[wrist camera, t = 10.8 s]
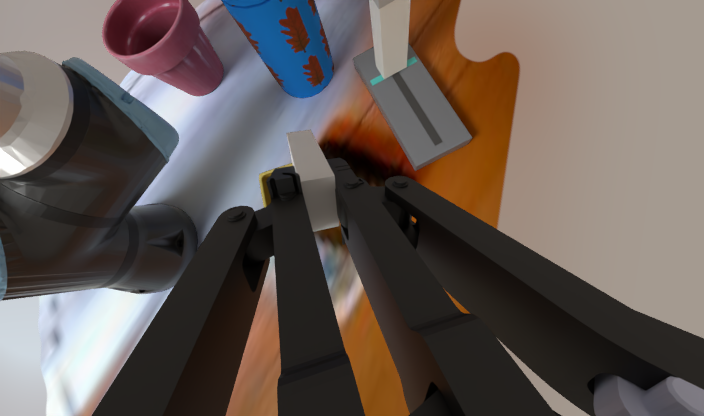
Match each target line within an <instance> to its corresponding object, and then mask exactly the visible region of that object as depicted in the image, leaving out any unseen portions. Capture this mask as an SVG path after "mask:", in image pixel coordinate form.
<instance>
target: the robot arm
mask: <svg viewBox="0 0 704 416" xmlns="http://www.w3.org/2000/svg"><path fill="white" fill-rule="evenodd" d="M287 138H288V144H289V149H290V154H291V159H292V164H293V166H288V167H282V168H276V169H274V171H273V172H272V173H271V176H270V177H269V178H267V181H266V183H267V187H268V190H269V194H270V198H271V203H270V204H269V205H268V206H266V207H265V208H263V209H260V210H258V211H255V212H254V210H253V209H252V208H251V207H248V206H238V207H233V208H230V209H228V210H226V211H225V212H223V213H222V214H221V215H220V216H219V217H218V219H217V220H216V222H215V223H214V225H213V227H212V228H211V230H210V231H209V233H208V234H207V236H206V237H205V239H204V241H203V242H202V244H201V245H200V247H199V248H198V250H197V234H196V230H195V227H194V224H193V222H192V220H191V219H190V217H189V216H188V215H187V214H186V213H185V212H184V211H182V210H181V209H179V208H176V207H173V206H168V205H163V204H148V205H142V206H134V205H135V204H136V202H137V201H138V200H139V198H140V197H141V196H142V195H143V193H144V192H145V191H146V189H147V188H148V187H149V185H150V184H151V183H152V182H153V180H154V179H155V178H156V176H157V175H158V174H159V172H160V171H161V170H162V168H163V167H164V166H165V165H166V164H167V163H168V162H169V157H170V156H171V154H172V153H173V151H174V149H175V148H176V146H177V145H178V142H179V135H178V133H177V131H176V130H175V128H174V127H172V126H171V125H170V124H169V123H168V122H166V121H165V120H164V119H163V118H161V117H160V116H159V115H158V114H156V113H155V112H154V111H152V110H151V109H150V108H148V107H147V106H146V105H144V104H143V103H142V102H140V101H139V100H137V99H136V98H135V97H133V96H131V95H130V94H129V93H128V92H126V91H125V90H124V89H122V88H121V87H120V86H119V85H117V84H116V83H114V82H113V81H112V80H110V79H109V78H108V77H106V76H105V75H104V74H102V73H101V72H99V71H98V70H96V69H95V68H94V67H92V66H91V65H89V64H87V63H86V62H85V61H83V60H81V59H79V58H76V57H73V58H70V59H69V60H66V61H63V62H62V66H61V65H60V64H58V63H56V62H54V61H52V60H51V59H49V58H47V57H45V56H42V55H40V54H37V53H34V52H27V51H16V52H7V53H0V301H1V300H8V299H16V298H25V297H33V296H41V295H49V294H57V293H65V292H73V291H80V290H88V289H96V288H109V289H115V290H120V291H125V292H131V293H136V294H149V293H156V292H161V291H165V290H167V289H170V288H171V287H173V286H174V288H173V289H172V291H171V292H170V294H169V295H168V297H167V299H166V300H165V302H164V303H163V305H162V306H161V308H160V310H159V311H158V313H157V314H156V316H155V317H154V319H153V320H152V322H151V324H150V325H149V327H148V328H147V330H146V331H145V333H144V335H143V336H142V338H141V339H140V341H139V342H138V344H137V346H136V347H135V349H134V350H133V352H132V353H131V355H130V356H129V358H128V360H127V361H126V363H125V364H124V366H123V367H122V369H121V371H120V372H119V374H118V375H117V377H116V378H115V380H114V382H113V383H112V385H111V386H110V388H109V389H108V391H107V392H106V394H105V396H104V397H103V399H102V400H101V402H100V403H99V405H98V407H97V408H96V410H95V411H94V413H93V414H92V416H225V415H226V412H227V408H228V405H229V401H230V398H231V395H232V391H233V388H234V384H235V381H236V377H237V374H238V370H239V367H240V363H241V360H242V356H243V353H244V350H245V346H246V343H247V339H248V336H249V332H250V329H251V325H252V322H253V318H254V315H255V311H256V308H257V305H258V301H259V298H260V294H261V291H262V287H263V284H264V280H265V277H266V273H267V270H268V267H269V263H270V257H272V256H274V257H275V273H276V289H277V306H278V322H279V338H280V354H281V375H280V377H279V379H278V386H277V396H278V416H365V414H364V410H363V406H362V403H361V399H360V395H359V392H358V388H357V385H356V381H355V377H354V374H353V370H352V367H351V363H350V360H349V357H348V355H347V354H346V351H345V348H344V345H343V341H342V337H341V334H340V330H339V326H338V323H337V319H336V315H335V311H334V308H333V304H332V300H331V296H330V293H329V289H328V285H327V282H326V278H325V274H324V270H323V267H322V263H321V259H320V255H319V252H318V248H317V244H316V241H315V237H314V233H313V232H314V231H319V230H323V229H328V228H333V227H337V226H339V220H340V223H341V230H342V242H343V244H345V242H346V244H347V247H348V249H349V252H350V254H351V257H352V259H353V262H354V264H355V267H356V269H357V272H358V274H359V277H360V279H361V282H362V284H363V286H364V289H365V291H366V294H367V296H368V299H369V301H370V304H371V306H372V309H373V311H374V314H375V316H376V319H377V321H378V324H379V326H380V329H381V331H382V334H383V336H384V338H385V341H386V343H387V346H388V348H389V351H390V353H391V356H392V358H393V361H394V363H395V366H396V368H397V371H398V373H399V376H400V379H401V382H402V386H403V392H404V396H405V400H406V404H407V407H408V409H409V412H410V415H409V416H561V415H560V414H558V413H556V412H555V411H553V410H552V409H551V408H550V406H549V405H548V404H547V402H546V401H545V400H544V399H543V397H542V396H541V395H540V393H539V392H538V391H537V390H536V388H535V387H534V386H533V384H532V383H531V382H530V381H529V379H528V378H527V377H526V375H525V374H524V373H523V372H522V370H521V369H520V368H519V366H518V365H517V364H516V363H515V361H514V360H513V359H512V357H511V356H510V355H509V354H508V352H507V351H506V350H505V348H504V347H503V346H502V345H501V343H500V342H499V341H498V339H499V340H500V341H501V342H502V343H503V344H504V345H505V346H506V347H507V348H508V349H509V350H510V351H512V352H513V353H514V354H515V355H516V356H517V357H518V358H519V359H520V360H521V361H522V362H523V363H525V364H526V365H527V366H528V367H529V368H530V369H531V370H532V371H533V372H534V373H536V374H537V375H538V376H539V377H540V378H541V379H542V380H544V381H545V382H546V383H547V384H548V385H549V386H550V387H552V388H553V389H554V390H556V391H557V392H558V393H559V394H561V395H562V396H563V397H565V398H566V399H567V400H569V401H570V402H571V403H573V404H574V405H575V406H577V407H578V408H580V409H581V410H583V411H584V412H586V413H587V414H589V415H590V416H704V339H703V338H701V337H699V336H696V335H693V334H691V333H689V332H686V331H683V330H682V329H679V328H677V327H674V326H672V325H669V324H667V323H664V322H662V321H660V320H657V319H655V318H652V317H650V316H647V315H645V314H642V313H640V312H637V311H635V310H633V309H631V308H629V307H627V306H626V305H624V304H623V303H621V302H619V301H617V300H616V299H614V298H612V297H610V296H609V295H607V294H606V293H604V292H602V291H600V290H599V289H597V288H595V287H593V286H592V285H590V284H589V283H587V282H585V281H583V280H582V279H580V278H578V277H577V276H575V275H573V274H572V273H570V272H568V271H566V270H565V269H563V268H561V267H560V266H558V265H556V264H555V263H553V262H551V261H550V260H548V259H546V258H544V257H543V256H541V255H539V254H538V253H536V252H534V251H533V250H531V249H529V248H528V247H526V246H524V245H522V244H521V243H519V242H517V241H516V240H514V239H512V238H510V237H509V236H507V235H505V234H504V233H502V232H500V231H499V230H497V229H495V228H494V227H492V226H490V225H489V224H487V223H485V222H483V221H482V220H480V219H478V218H477V217H475V216H473V215H472V214H470V213H468V212H466V211H465V210H463V209H461V208H460V207H458V206H456V205H455V204H453V203H451V202H449V201H448V200H446V199H444V198H443V197H441V196H439V195H438V194H436V193H434V192H433V191H431V190H429V189H427V188H426V187H424V186H422V185H421V184H419V183H417V182H416V181H414V180H412V179H410V178H408V177H403V176H395V177H391V178H389V179H387V180H386V181H385V187H372V186H369V184H368V183H367V182H366V181H365V180H364V179H362V178H359V177H356V175H355V174H354V172H353V171H352V169H351V168H350V167H349V166H348V164H347V162H346V161H345V160H343V159H341V158H334V159H328V160H326V158H325V156H324V154H323V153H322V151H321V149H320V147H319V145H318V143H317V141H316V139H315V137H314V135H313V133H312V132H311V130H305V131H298V132H290V133H287ZM412 216H413V217H414V218H415V219H416V220H417V221H416V223H414V222H413V221H412V220H411V218H412ZM196 250H197V252H196ZM442 287H443V288H444V289H445V290H446V291H447V292H448V293H449V294H450V295H451V296H452V297H453V298H455V299H456V300H457V301H458V302H459V303H460V304H461V305H462V306H463V307H464V308H465V309H466V310H467V311H469V312H470V313H471V314H464V313H462V312H461V311H460V310H459V309H458V308H457V307H456V306H455V304H454V303H453V301H452V300H451V299H450V297H449V296H448V294H447V293H446V292H445V290H444V289H443V288H442ZM496 337H497V338H498V339H497V338H496Z"/></svg>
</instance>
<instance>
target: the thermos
mask: <svg viewBox="0 0 704 416" xmlns="http://www.w3.org/2000/svg"><path fill="white" fill-rule="evenodd" d="M221 1H222V2H223V4H224V5H225V6H226V8H227V9H228V11H229V12H230V14H231V15H232V17H233V18H234V20H235V21H236V22H237V24H238V25H239V27H240V28H241V30H242V31H243V33H244V34H245V36H246V37H247V39H248V40H249V41H250V43H251V44H252V46H253V47H254V49H255V50H256V52H257V53H258V55H259V56H260V57H261V59H262V60H263V62H264V63H265V65H266V66H267V68H268V69H269V71H270V72H271V74H272V75H273V76H274V78H275V79H276V80H277V82H278V83H279V84H280V85H281V87H282V88H283V89H284V91H285V92H287V93H288V94H290V95H291V96H294V97H299V98H305V97H311V96H313V95H315V94H318V93H320V92H321V91H322V90H323V89H324V88H325V87H326V86H327V85H328V84H329V82H330V80H331V78H332V76H333V70H334V66H333V62H332V57H331V53H330V49H329V45H328V41H327V38H326V35H325V32H324V29H323V26H322V23H321V20H320V17H319V13H318V10H317V7H316V4H315V1H314V0H221Z"/></svg>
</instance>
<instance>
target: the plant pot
mask: <svg viewBox="0 0 704 416" xmlns="http://www.w3.org/2000/svg"><path fill="white" fill-rule="evenodd" d="M102 37H103V42H104V45H105V47H106V49H107V50H108V52H109V53H110V54H111V55H113V56H114V57H116V58H117V59H118V60H119V61H121V62H122V63H124V64H125V65H127V66H128V67H129V68H131V69H132V70H134V71H135V72H137V73H140V74H143V75H152V76H154V77H156V78H158V79H160V80H162V81H164V82H166V83H168V84H170V85H172V86H174V87H176V88H178V89H180V90H183V91H184V92H186V93H188V94H190V95H193V96H203V95H206V94H209V93H210V92H212V91H213V90H214V89H215V88H216V87H217V86H218V85H219V84H220V82H221V80H222V77H223V72H224V70H223V65H222V63H221V61H220V59H219V58H218V56H217V54H216V52H215V51H214V49H213V47H212V45H211V44H210V42H209V40H208V38H207V37H206V35H205V33H204V32H203V30H202V28H201V27H200V22H199V17H198V14H197V12H196V11H195V9H194V8H193V7H192V5H191V4H190V3H189V1H188V0H117V1H116V2H115V3H114V4H113V6H112V7H111V9H110V10H109V12H108V14H107V16H106V18H105V21H104V24H103V30H102Z"/></svg>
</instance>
